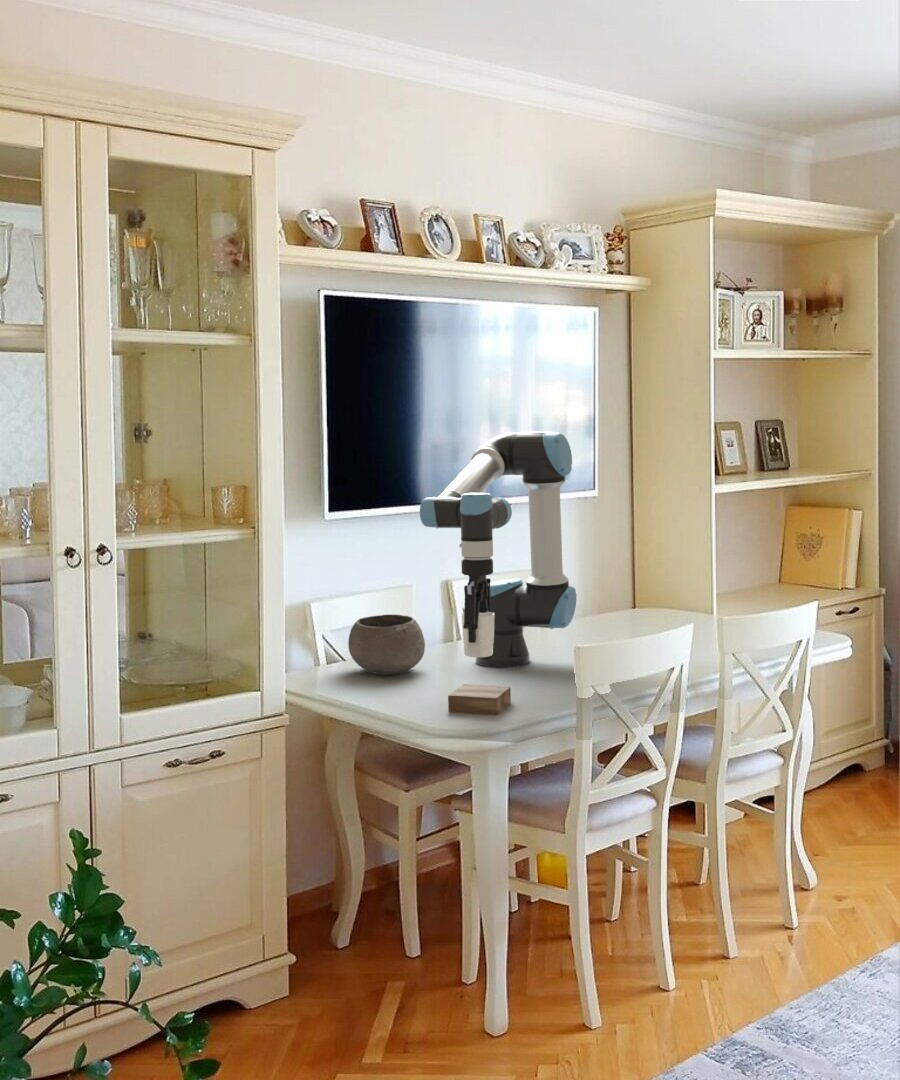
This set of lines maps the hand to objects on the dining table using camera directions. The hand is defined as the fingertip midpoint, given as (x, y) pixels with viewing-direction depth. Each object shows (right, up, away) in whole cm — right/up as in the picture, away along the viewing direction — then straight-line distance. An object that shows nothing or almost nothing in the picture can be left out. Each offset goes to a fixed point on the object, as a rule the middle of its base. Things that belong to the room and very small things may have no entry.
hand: (478, 652), depth 301 cm
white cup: (0, -1, 0) cm, 1 cm away
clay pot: (-24, -10, +42) cm, 50 cm away
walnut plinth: (0, -13, +2) cm, 14 cm away
